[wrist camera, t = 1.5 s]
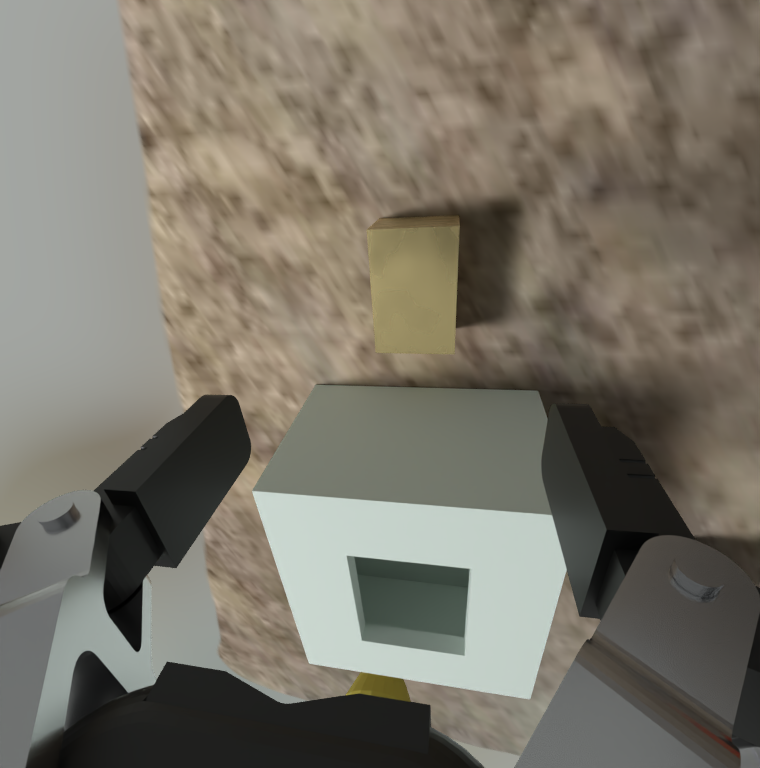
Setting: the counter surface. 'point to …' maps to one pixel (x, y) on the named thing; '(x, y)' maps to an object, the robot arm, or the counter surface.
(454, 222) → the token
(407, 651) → the box
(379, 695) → the light bulb
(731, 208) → the counter surface
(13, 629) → the robot arm
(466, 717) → the counter surface
